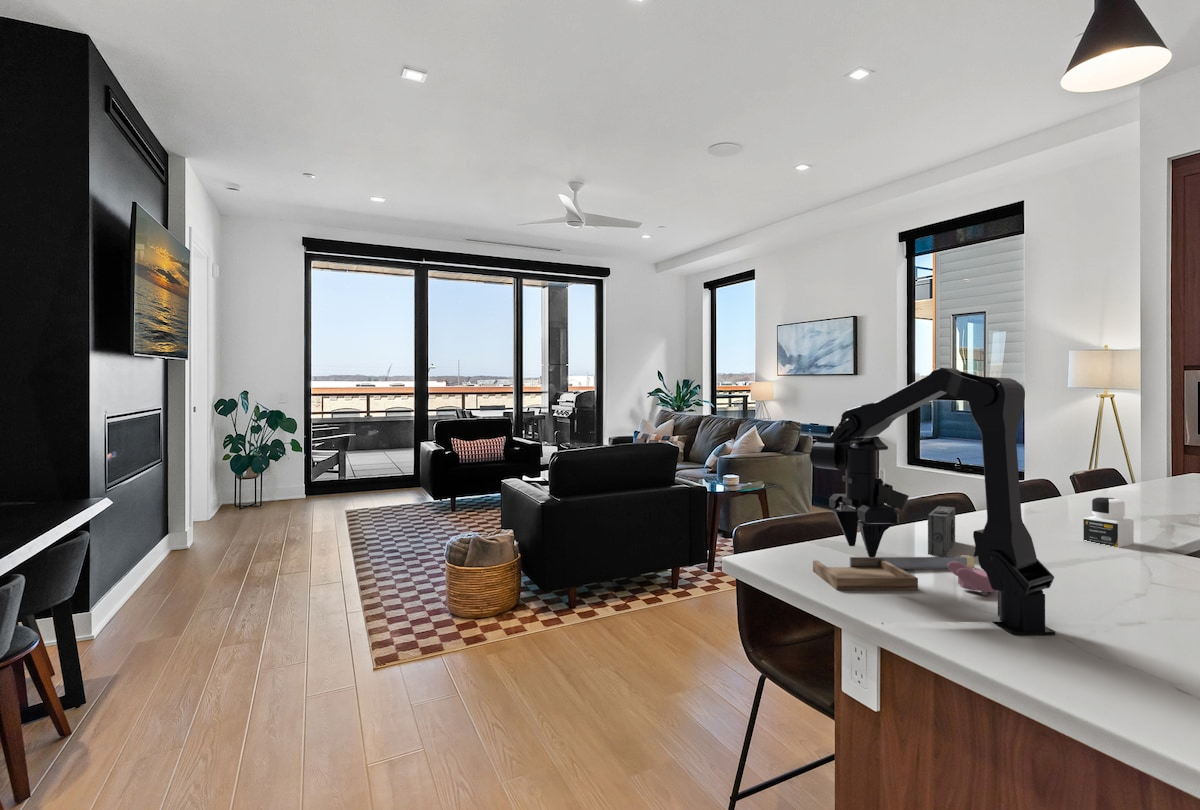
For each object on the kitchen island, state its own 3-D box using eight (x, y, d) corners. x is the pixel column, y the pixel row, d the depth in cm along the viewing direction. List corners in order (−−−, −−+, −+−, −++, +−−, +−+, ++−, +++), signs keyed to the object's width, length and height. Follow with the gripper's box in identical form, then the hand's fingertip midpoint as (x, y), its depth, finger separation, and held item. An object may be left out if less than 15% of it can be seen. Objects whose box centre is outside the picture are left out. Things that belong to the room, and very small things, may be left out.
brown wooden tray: (917, 590, 114) (917, 578, 114) (837, 590, 114) (837, 578, 114) (885, 571, 127) (885, 560, 127) (813, 571, 127) (812, 560, 127)
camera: (946, 561, 135) (946, 516, 135) (926, 559, 137) (926, 514, 137) (956, 547, 148) (956, 506, 148) (937, 545, 150) (937, 504, 150)
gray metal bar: (974, 569, 127) (974, 557, 127) (851, 569, 127) (851, 557, 127) (967, 566, 129) (967, 555, 129) (846, 566, 129) (846, 555, 129)
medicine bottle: (1082, 546, 149) (1082, 497, 149) (1099, 543, 152) (1099, 495, 152) (1117, 552, 142) (1117, 501, 142) (1134, 549, 145) (1134, 499, 145)
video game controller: (957, 593, 111) (1002, 597, 108) (957, 568, 111) (1001, 571, 109) (947, 583, 120) (988, 587, 118) (946, 559, 120) (987, 562, 118)
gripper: (927, 477, 111) (927, 563, 111) (880, 467, 130) (880, 541, 130) (866, 477, 111) (866, 563, 111) (828, 467, 130) (828, 541, 130)
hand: (861, 551), depth 121 cm, fingers open, 9 cm apart
